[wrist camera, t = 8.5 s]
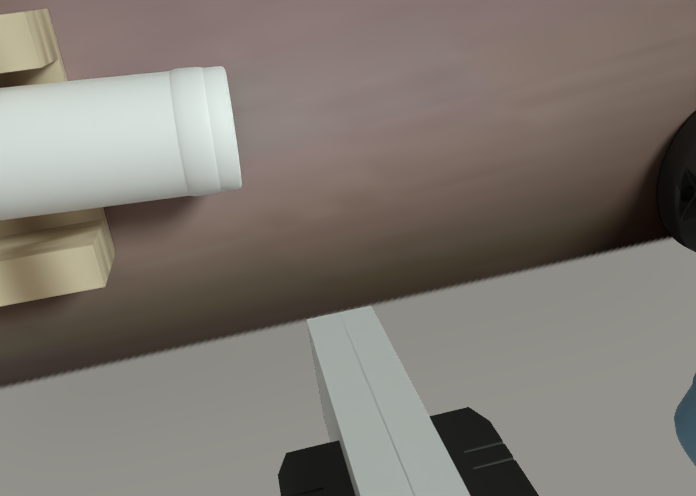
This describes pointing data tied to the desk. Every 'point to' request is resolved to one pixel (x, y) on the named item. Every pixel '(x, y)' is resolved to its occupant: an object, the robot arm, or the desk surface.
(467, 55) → the desk surface
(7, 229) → the bottle rest
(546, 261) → the desk surface
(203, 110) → the bottle
